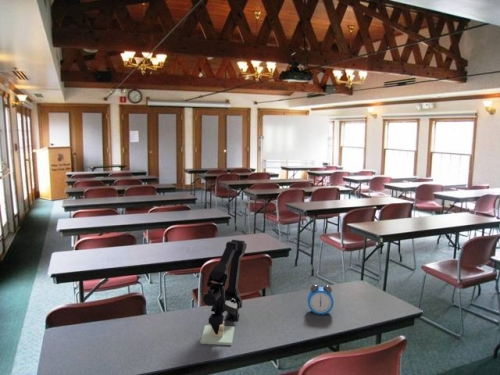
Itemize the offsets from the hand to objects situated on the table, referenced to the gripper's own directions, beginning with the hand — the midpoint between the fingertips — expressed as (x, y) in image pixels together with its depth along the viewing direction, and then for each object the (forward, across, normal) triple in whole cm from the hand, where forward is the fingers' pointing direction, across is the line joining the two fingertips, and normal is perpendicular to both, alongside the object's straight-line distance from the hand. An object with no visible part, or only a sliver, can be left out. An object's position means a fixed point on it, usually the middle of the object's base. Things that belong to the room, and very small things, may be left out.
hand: (218, 328), depth 175 cm
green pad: (+4, 0, 0) cm, 4 cm away
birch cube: (+2, 0, 0) cm, 2 cm away
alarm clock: (+4, +28, -50) cm, 57 cm away
